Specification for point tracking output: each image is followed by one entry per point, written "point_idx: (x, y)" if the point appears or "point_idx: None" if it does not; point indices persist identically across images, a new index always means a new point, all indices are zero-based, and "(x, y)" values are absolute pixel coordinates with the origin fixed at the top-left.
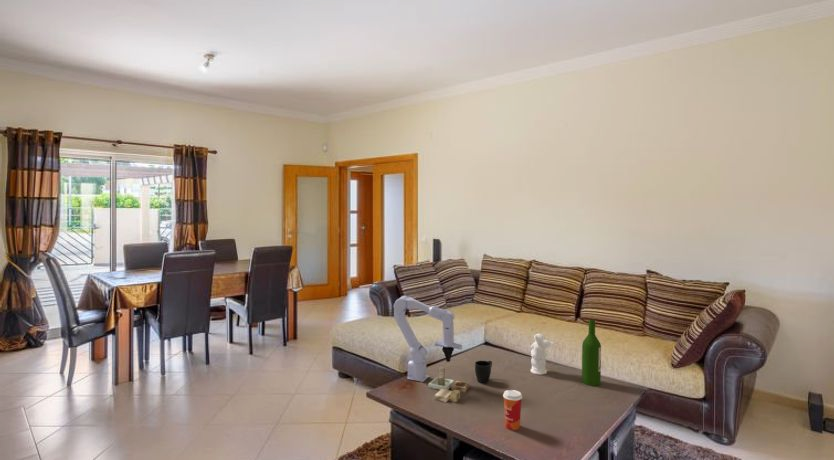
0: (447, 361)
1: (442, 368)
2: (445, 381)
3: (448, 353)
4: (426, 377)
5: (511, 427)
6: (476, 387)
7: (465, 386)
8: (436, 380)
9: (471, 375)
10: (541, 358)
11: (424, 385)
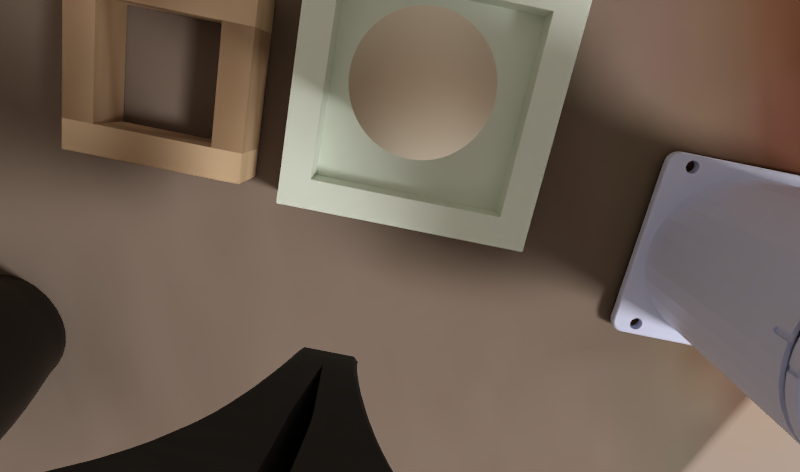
0: (330, 352)
1: (402, 116)
2: (387, 189)
3: (216, 448)
4: (641, 271)
5: None
6: (20, 150)
7: (75, 16)
8: (502, 189)
9: None
10: None
11: (637, 52)
